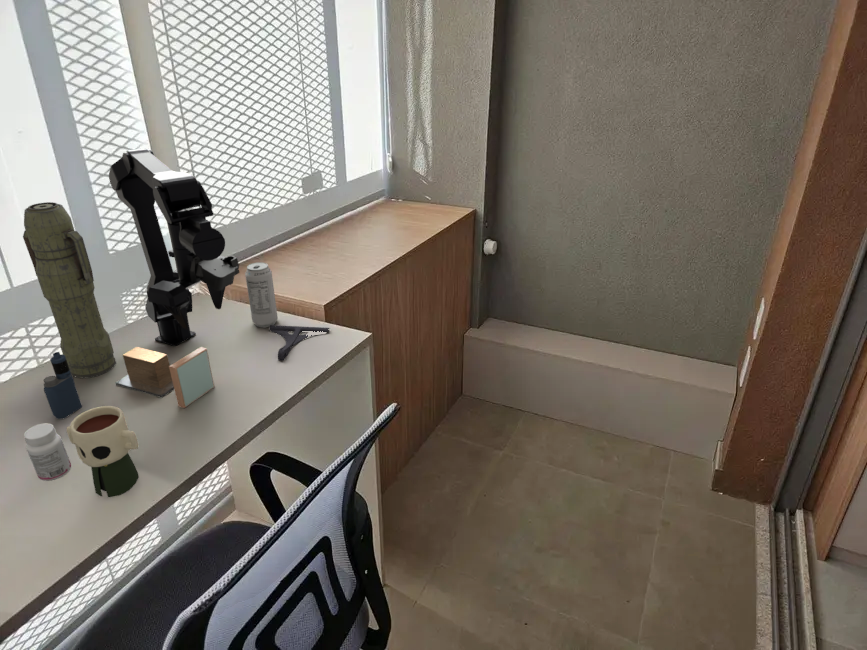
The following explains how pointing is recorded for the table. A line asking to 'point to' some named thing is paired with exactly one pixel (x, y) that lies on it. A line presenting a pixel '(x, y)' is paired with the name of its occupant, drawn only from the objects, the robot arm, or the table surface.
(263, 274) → the energy drink can
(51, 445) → the pill bottle
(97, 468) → the character mug
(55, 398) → the vaping device
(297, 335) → the bracket
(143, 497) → the table surface
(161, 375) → the block on grey plate
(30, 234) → the thermos
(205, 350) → the tile
